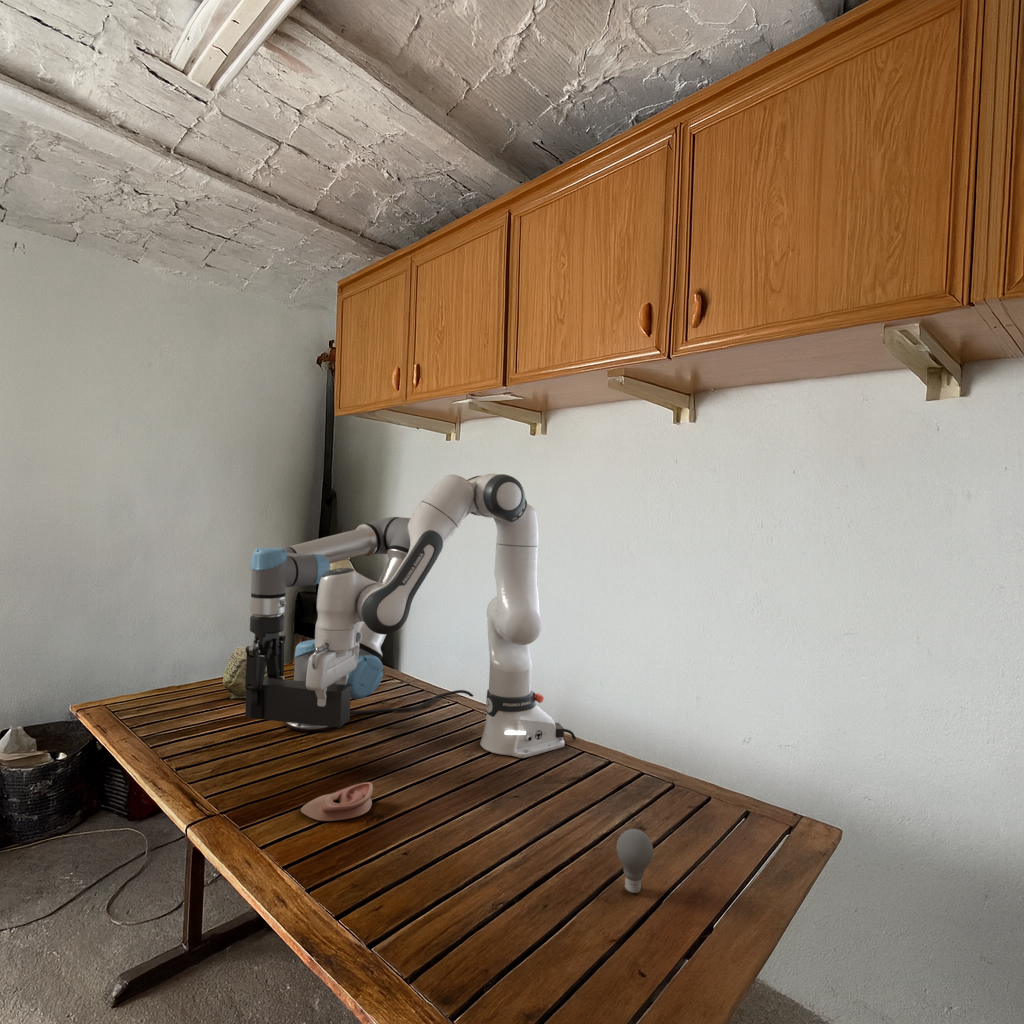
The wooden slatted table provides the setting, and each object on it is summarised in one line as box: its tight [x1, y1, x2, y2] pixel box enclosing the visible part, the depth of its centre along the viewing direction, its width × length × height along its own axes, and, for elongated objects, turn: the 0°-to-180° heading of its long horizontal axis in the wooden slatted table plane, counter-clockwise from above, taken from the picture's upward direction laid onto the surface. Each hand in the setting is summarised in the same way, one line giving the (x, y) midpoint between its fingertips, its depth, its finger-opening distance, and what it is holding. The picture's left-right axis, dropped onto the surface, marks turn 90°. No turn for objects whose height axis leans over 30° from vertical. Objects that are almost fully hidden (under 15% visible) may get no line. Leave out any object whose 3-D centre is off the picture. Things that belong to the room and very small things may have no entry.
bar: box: [244, 678, 352, 728], centre depth 147 cm, size 23×5×8 cm, turn 81°
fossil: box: [222, 646, 286, 699], centre depth 198 cm, size 9×18×15 cm, turn 132°
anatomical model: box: [300, 781, 374, 822], centre depth 129 cm, size 13×4×12 cm
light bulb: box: [615, 828, 654, 894], centre depth 106 cm, size 6×6×10 cm
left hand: (264, 713), depth 148 cm, fingers closed on bar, 5 cm apart
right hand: (331, 699), depth 145 cm, fingers open, 8 cm apart
